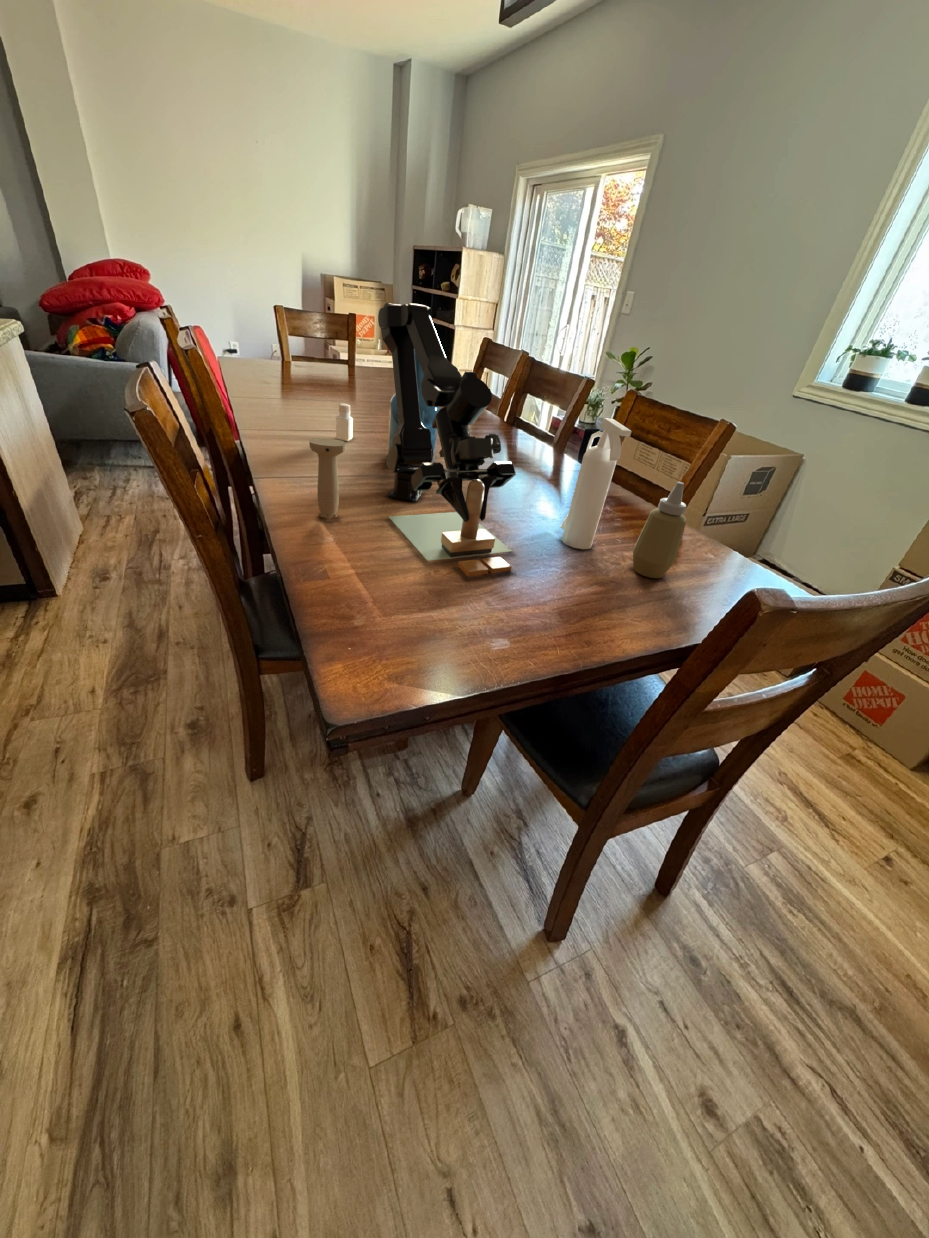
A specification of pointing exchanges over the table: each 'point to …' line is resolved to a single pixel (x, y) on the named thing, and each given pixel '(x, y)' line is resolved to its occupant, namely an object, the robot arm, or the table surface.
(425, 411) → the blue bottle
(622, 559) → the table surface
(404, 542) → the table surface
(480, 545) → the rubber stamp
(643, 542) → the squeeze bottle
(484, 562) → the block
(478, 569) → the block
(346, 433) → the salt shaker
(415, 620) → the table surface
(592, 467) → the white spray bottle
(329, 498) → the handle
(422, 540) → the mat
